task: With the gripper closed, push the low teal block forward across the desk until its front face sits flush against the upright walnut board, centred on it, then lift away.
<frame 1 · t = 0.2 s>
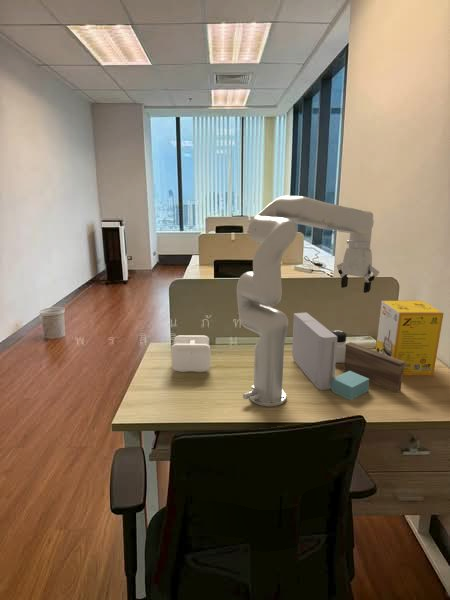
hand: (355, 289, 149), 31 cm above the table, tool pointing down, fingers open, 9 cm apart
teal block: (349, 391, 136), on the table
game console: (310, 373, 150), on the table
medicine bottle: (336, 359, 161), on the table
cable organizer: (192, 367, 154), on the table
walnut board: (370, 379, 144), on the table
packaging box: (402, 366, 155), on the table
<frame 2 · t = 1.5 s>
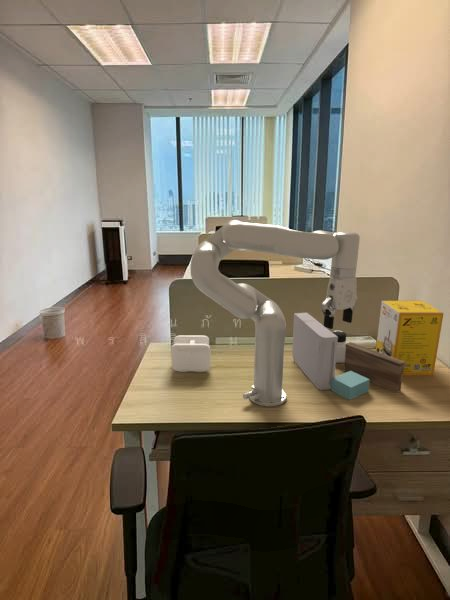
hand: (337, 324, 125), 26 cm above the table, tool pointing down, fingers open, 9 cm apart
nothing on the table moved.
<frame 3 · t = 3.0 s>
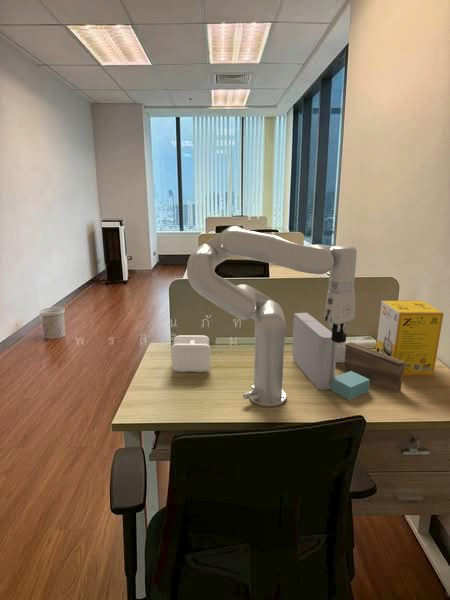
hand: (337, 341, 125), 21 cm above the table, tool pointing down, fingers closed
nothing on the table moved.
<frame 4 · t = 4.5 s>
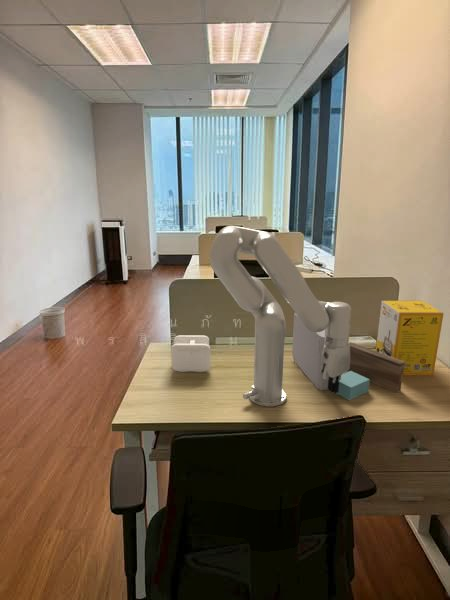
hand: (332, 391, 130), 3 cm above the table, tool pointing down, fingers closed
nothing on the table moved.
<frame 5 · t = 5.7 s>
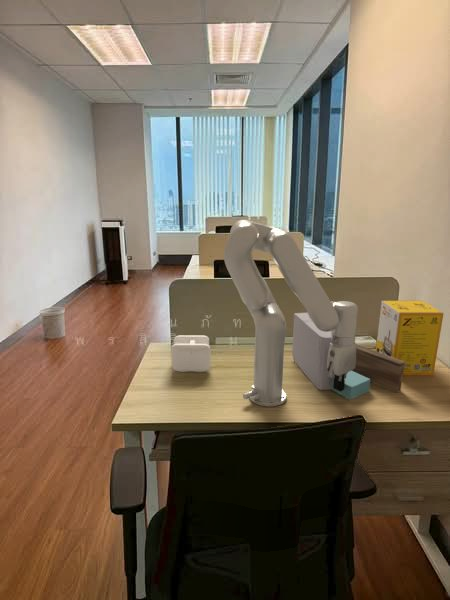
hand: (338, 389, 132), 3 cm above the table, tool pointing down, fingers closed
teal block: (350, 391, 136), on the table, touching gripper
everything else where it was.
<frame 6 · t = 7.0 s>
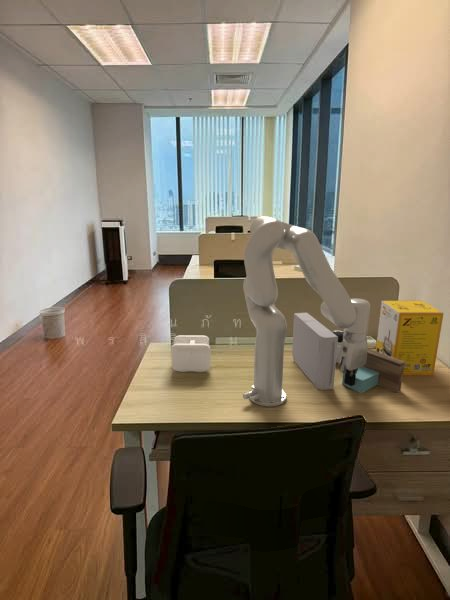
hand: (349, 384, 136), 2 cm above the table, tool pointing down, fingers closed
teal block: (359, 385, 141), on the table, touching gripper, walnut board
everything else where it was.
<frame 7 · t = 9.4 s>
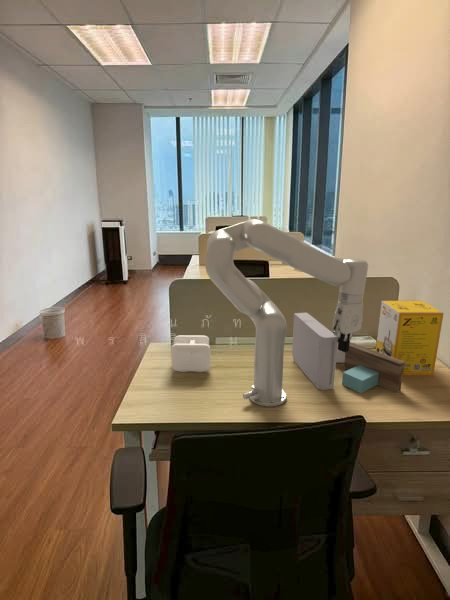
hand: (342, 350, 129), 16 cm above the table, tool pointing down, fingers closed
teal block: (359, 384, 141), on the table
everything else where it was.
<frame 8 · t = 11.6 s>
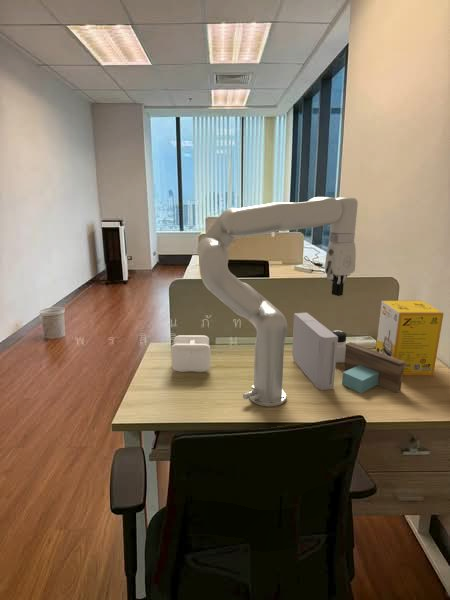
hand: (337, 294, 126), 35 cm above the table, tool pointing down, fingers closed
nothing on the table moved.
at the end: teal block 0.6 cm from the target spot on the table beside the walnut board, on the table; teal block tilted 0° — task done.
